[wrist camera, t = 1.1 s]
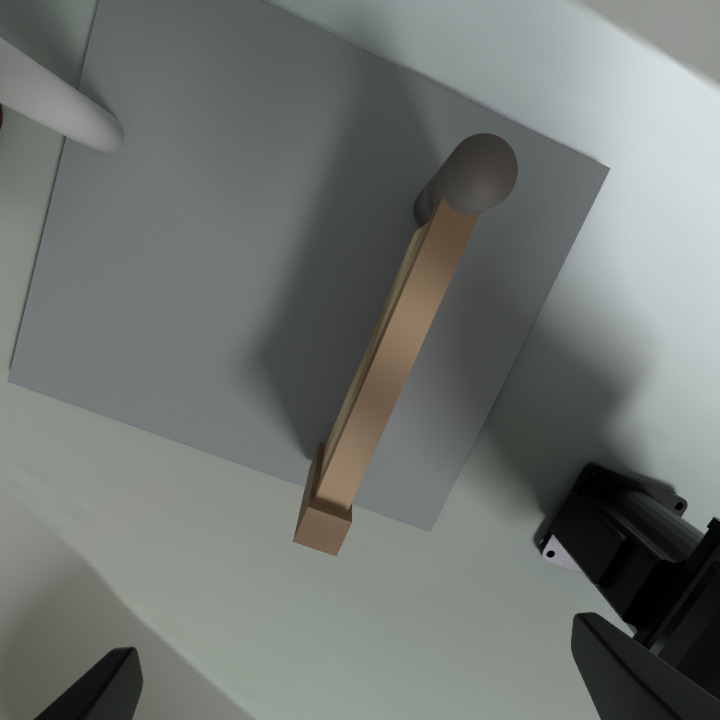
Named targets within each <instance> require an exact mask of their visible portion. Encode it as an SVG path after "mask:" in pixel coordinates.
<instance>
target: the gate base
mask: <svg viewBox="0 0 720 720" xmlns="http://www.w3.org/2000/svg"><path fill="white" fill-rule="evenodd" d="M0 103H1V104H3V105H5V106H7V107H9V108H11V109H13V110H15V111H17V112H19V113H21V114H23V115H25V116H27V117H29V118H31V119H33V120H35V121H37V122H39V123H41V124H43V125H45V126H47V127H49V128H51V129H53V130H55V131H56V132H58V133H60V134H62V135H64V136H66V139H65V143H64V148H63V152H62V156H61V160H60V164H59V169H58V173H57V177H56V181H55V185H54V189H53V194H52V198H51V202H50V206H49V210H48V215H47V219H46V223H45V227H44V231H43V235H42V240H41V244H40V248H39V252H38V256H37V261H36V265H35V269H34V273H33V277H32V281H31V286H30V290H29V294H28V298H27V302H26V307H25V311H24V315H23V319H22V323H21V327H20V332H19V336H18V340H17V344H16V348H15V353H14V357H13V361H12V365H11V369H10V373H9V378H8V382H10V383H13V384H16V385H19V386H22V387H24V388H27V389H30V390H33V391H36V392H38V393H41V394H44V395H47V396H50V397H53V398H55V399H58V400H61V401H64V402H67V403H69V404H72V405H75V406H78V407H81V408H83V409H86V410H89V411H92V412H95V413H98V414H100V415H103V416H106V417H109V418H112V419H114V420H117V421H120V422H123V423H126V424H128V425H131V426H134V427H137V428H140V429H143V430H145V431H148V432H151V433H154V434H157V435H159V436H162V437H165V438H168V439H171V440H173V441H176V442H179V443H182V444H185V445H188V446H190V447H193V448H196V449H199V450H202V451H204V452H207V453H210V454H213V455H216V456H218V457H221V458H224V459H227V460H230V461H233V462H235V463H238V464H241V465H244V466H247V467H249V468H252V469H255V470H258V471H261V472H263V473H266V474H269V475H272V476H275V477H278V478H280V479H283V480H286V481H289V482H292V483H294V484H297V485H300V486H303V487H305V486H306V481H307V477H308V472H309V468H310V465H311V463H312V461H313V458H314V456H315V453H316V451H317V448H318V446H319V444H320V442H322V443H324V444H327V441H328V439H329V437H330V434H331V432H332V429H333V427H334V425H335V422H336V420H337V418H338V415H339V413H340V410H341V408H342V406H343V403H344V401H345V398H346V396H347V394H348V391H349V389H350V386H351V384H352V382H353V379H354V377H355V374H356V372H357V370H358V367H359V365H360V362H361V360H362V358H363V355H364V353H365V350H366V348H367V346H368V343H369V341H370V338H371V336H372V334H373V331H374V329H375V326H376V324H377V322H378V319H379V317H380V314H381V312H382V310H383V307H384V305H385V302H386V300H387V298H388V295H389V293H390V290H391V288H392V286H393V283H394V281H395V278H396V276H397V274H398V271H399V269H400V267H401V264H402V262H403V259H404V257H405V255H406V252H407V250H408V247H409V245H410V243H411V240H412V238H413V235H414V233H415V232H416V231H417V230H418V229H420V227H419V225H418V224H417V222H416V220H415V217H414V203H415V200H416V198H417V197H418V195H419V194H420V192H421V191H422V190H423V189H424V187H425V186H426V185H427V184H428V182H429V181H430V180H431V179H432V177H433V176H434V175H435V173H436V172H437V171H438V170H439V168H440V167H441V166H442V165H443V163H444V162H445V161H446V160H447V158H448V157H449V156H450V154H451V153H452V152H453V151H454V149H455V148H456V147H457V146H458V145H459V144H460V143H461V142H462V141H463V140H465V139H466V138H468V137H470V136H472V135H475V134H479V133H490V134H494V135H497V136H499V137H501V138H502V139H504V140H505V141H506V142H507V143H508V144H509V145H510V146H511V148H512V149H513V151H514V153H515V156H516V159H517V164H518V174H517V179H516V183H515V185H514V188H513V190H512V191H511V193H510V194H509V196H508V197H507V198H506V199H505V200H504V201H503V202H501V203H500V204H498V205H497V206H495V207H493V208H491V209H489V210H487V211H485V212H483V213H481V214H480V215H479V217H478V220H477V222H476V224H475V226H474V229H473V231H472V233H471V235H470V238H469V240H468V242H467V244H466V247H465V249H464V251H463V253H462V256H461V258H460V260H459V262H458V265H457V267H456V269H455V271H454V274H453V276H452V278H451V280H450V283H449V285H448V287H447V289H446V292H445V294H444V296H443V298H442V301H441V303H440V305H439V307H438V310H437V312H436V314H435V316H434V319H433V321H432V323H431V325H430V328H429V330H428V332H427V334H426V337H425V339H424V341H423V343H422V346H421V348H420V350H419V352H418V355H417V357H416V359H415V361H414V364H413V366H412V368H411V370H410V373H409V375H408V377H407V379H406V382H405V384H404V386H403V388H402V391H401V393H400V395H399V397H398V400H397V402H396V404H395V406H394V409H393V411H392V413H391V415H390V418H389V420H388V422H387V424H386V427H385V429H384V431H383V433H382V436H381V438H380V440H379V442H378V445H377V447H376V449H375V451H374V453H373V456H372V458H371V460H370V462H369V465H368V467H367V469H366V471H365V474H364V476H363V478H362V480H361V483H360V485H359V487H358V489H357V492H356V494H355V496H354V498H353V501H352V504H353V505H356V506H359V507H362V508H365V509H367V510H370V511H373V512H376V513H379V514H382V515H384V516H387V517H390V518H393V519H396V520H398V521H401V522H404V523H407V524H410V525H412V526H415V527H418V528H421V529H424V530H427V531H429V532H430V531H431V529H432V527H433V525H434V523H435V521H436V519H437V517H438V515H439V513H440V511H441V509H442V507H443V505H444V503H445V501H446V499H447V497H448V495H449V493H450V491H451V489H452V487H453V485H454V483H455V481H456V479H457V477H458V475H459V473H460V471H461V469H462V467H463V465H464V463H465V461H466V459H467V457H468V455H469V453H470V451H471V449H472V447H473V445H474V443H475V441H476V439H477V437H478V435H479V433H480V431H481V429H482V426H483V424H484V422H485V420H486V418H487V416H488V414H489V412H490V410H491V408H492V406H493V404H494V402H495V400H496V398H497V396H498V394H499V392H500V390H501V388H502V386H503V384H504V382H505V380H506V378H507V376H508V374H509V372H510V370H511V368H512V366H513V364H514V362H515V360H516V358H517V356H518V354H519V352H520V350H521V348H522V346H523V344H524V342H525V340H526V338H527V336H528V334H529V332H530V330H531V328H532V326H533V324H534V322H535V320H536V318H537V316H538V314H539V312H540V310H541V307H542V305H543V303H544V301H545V299H546V297H547V295H548V293H549V291H550V289H551V287H552V285H553V283H554V281H555V279H556V277H557V275H558V273H559V271H560V269H561V267H562V265H563V263H564V261H565V259H566V257H567V255H568V253H569V251H570V249H571V247H572V245H573V243H574V241H575V239H576V237H577V235H578V233H579V231H580V229H581V227H582V225H583V223H584V221H585V219H586V217H587V215H588V213H589V211H590V209H591V207H592V205H593V203H594V201H595V199H596V197H597V195H598V193H599V191H600V188H601V186H602V184H603V182H604V180H605V178H606V176H607V174H608V172H609V170H610V168H609V167H607V166H605V165H603V164H601V163H598V162H596V161H594V160H592V159H590V158H588V157H586V156H584V155H582V154H580V153H578V152H576V151H574V150H571V149H569V148H567V147H565V146H563V145H561V144H559V143H557V142H555V141H553V140H551V139H549V138H547V137H544V136H542V135H540V134H538V133H536V132H534V131H532V130H530V129H528V128H526V127H524V126H522V125H519V124H517V123H515V122H513V121H511V120H509V119H507V118H505V117H503V116H501V115H499V114H497V113H495V112H492V111H490V110H488V109H486V108H484V107H482V106H480V105H478V104H476V103H474V102H472V101H470V100H468V99H465V98H463V97H461V96H459V95H457V94H455V93H453V92H451V91H449V90H447V89H445V88H443V87H440V86H438V85H436V84H434V83H432V82H430V81H428V80H426V79H424V78H422V77H420V76H418V75H416V74H413V73H411V72H409V71H407V70H405V69H403V68H401V67H399V66H397V65H395V64H393V63H391V62H389V61H386V60H384V59H382V58H380V57H378V56H376V55H374V54H372V53H370V52H368V51H366V50H364V49H361V48H359V47H357V46H355V45H353V44H351V43H349V42H347V41H345V40H343V39H341V38H339V37H337V36H334V35H332V34H330V33H328V32H326V31H324V30H322V29H320V28H318V27H316V26H314V25H312V24H310V23H307V22H305V21H303V20H301V19H299V18H297V17H295V16H293V15H291V14H289V13H287V12H285V11H283V10H280V9H278V8H276V7H274V6H272V5H270V4H268V3H266V2H264V1H262V0H99V1H98V6H97V10H96V14H95V18H94V22H93V26H92V31H91V35H90V39H89V43H88V47H87V52H86V56H85V60H84V64H83V68H82V72H81V77H80V81H79V85H78V89H77V90H76V89H74V88H73V87H72V86H70V85H69V84H67V83H66V82H64V81H63V80H61V79H60V78H59V77H57V76H56V75H54V74H53V73H51V72H50V71H49V70H47V69H46V68H44V67H43V66H41V65H40V64H38V63H37V62H36V61H34V60H33V59H31V58H30V57H28V56H27V55H25V54H24V53H23V52H21V51H20V50H18V49H17V48H15V47H14V46H13V45H11V44H10V43H8V42H7V41H5V40H4V39H2V38H1V37H0Z"/></svg>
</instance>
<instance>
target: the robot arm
mask: <svg viewBox="0 0 720 720" xmlns="http://www.w3.org/2000/svg"><path fill="white" fill-rule="evenodd" d="M595 470H596V473H595V474H593V475H592V472H593V471H595ZM676 503H677V504H676ZM675 504H676V505H675ZM686 508H687V502H686V500H684V499H683V498H681V497H680V496H678V495H676V494H674V493H671V492H669V491H666V490H663V489H661V488H658V487H656V486H653V485H651V484H648V483H646V482H643V481H641V480H638V479H635V478H633V477H630V476H628V475H625V474H623V473H620V472H618V471H615V470H613V469H610V468H607V467H605V466H602V465H600V464H597V463H589V464H588V465H586V466H585V468H584V469H583V471H582V473H581V475H580V476H579V478H578V480H577V482H576V484H575V485H574V487H573V489H572V491H571V492H570V494H569V496H568V498H567V500H566V501H565V503H564V505H563V507H562V509H561V510H560V512H559V514H558V516H557V517H556V519H555V521H554V523H553V525H552V526H551V528H550V530H549V532H548V533H547V535H546V537H545V539H544V541H543V542H542V544H541V546H540V548H539V552H540V554H541V555H542V557H543V558H544V559H545V560H546V561H548V562H551V563H554V564H557V565H560V566H562V567H565V568H568V569H571V570H574V571H576V572H579V573H582V574H585V575H586V577H587V578H588V579H589V580H590V582H591V583H593V584H594V585H595V587H596V588H597V589H598V590H599V592H600V593H601V594H602V595H603V597H604V598H605V599H606V600H607V602H608V603H609V604H610V605H611V607H612V608H613V609H614V610H615V612H616V613H617V614H618V616H619V617H620V618H621V619H622V621H624V622H625V623H626V624H627V626H628V627H629V628H630V629H631V631H632V632H633V633H634V634H635V635H634V636H633V637H632V638H631V637H629V636H628V635H627V634H625V633H624V632H622V631H621V630H620V629H618V628H617V627H615V626H614V625H613V624H611V623H610V622H608V621H607V620H606V619H604V618H603V617H601V616H600V615H598V614H596V613H593V612H587V613H577V614H575V616H574V618H573V627H572V637H571V650H572V654H573V657H574V660H575V662H576V664H577V667H578V669H579V671H580V673H581V676H582V678H583V680H584V682H585V685H586V687H587V689H588V692H589V694H590V696H591V698H592V701H593V703H594V705H595V707H596V710H597V712H598V714H599V716H600V719H601V720H720V519H718V518H716V517H713V519H712V520H711V522H710V523H709V524H708V526H707V527H708V528H709V530H708V531H707V532H706V534H703V533H702V532H701V531H699V530H698V529H696V528H695V527H694V526H692V525H691V524H689V523H688V522H687V521H685V520H684V519H682V518H681V517H682V515H683V513H684V512H685V510H686ZM550 550H551V551H550ZM548 551H550V552H549V553H547V552H548ZM142 686H143V677H142V671H141V666H140V661H139V656H138V652H137V649H136V648H135V647H120V648H115V649H113V650H111V651H110V652H108V653H107V654H106V655H105V656H104V657H103V658H102V659H101V660H99V662H97V663H96V664H95V665H94V666H93V667H92V668H91V669H89V670H88V671H87V672H86V673H85V674H84V675H83V676H82V677H80V678H79V679H78V680H77V681H76V682H75V683H74V684H73V685H71V686H70V687H69V688H68V689H67V690H66V691H65V692H64V693H63V694H61V695H60V696H59V697H58V698H57V699H56V700H55V701H54V702H52V703H51V704H50V705H49V706H48V707H47V708H46V709H45V710H43V711H42V712H41V713H40V714H39V715H38V716H37V717H36V718H34V720H132V718H133V716H134V713H135V710H136V706H137V704H138V701H139V697H140V694H141V691H142Z"/></svg>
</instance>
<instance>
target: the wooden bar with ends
mask: <svg viewBox="0 0 720 720" xmlns="http://www.w3.org/2000/svg"><path fill="white" fill-rule="evenodd" d="M517 174H518V164H517V159H516V156H515V153H514V151H513V149H512V148H511V146H510V145H509V144H508V143H507V142H506V141H505V140H504V139H502V138H501V137H499V136H497V135H494V134H490V133H479V134H475V135H472V136H470V137H468V138H466V139H465V140H463V141H462V142H461V143H460V144H459V145H458V146H457V147H456V148H455V149H454V151H453V152H452V153H451V154H450V156H449V157H448V158H447V160H446V161H445V162H444V163H443V165H442V166H441V167H440V168H439V170H438V171H437V172H436V173H435V175H434V176H433V177H432V179H431V180H430V181H429V182H428V184H427V185H426V186H425V187H424V189H423V190H422V191H421V192H420V194H419V195H418V197H417V198H416V200H415V203H414V217H415V220H416V222H417V224H418V225H419V227H420V229H418V230H417V231H416V232H415V233H414V235H413V238H412V240H411V243H410V245H409V247H408V250H407V252H406V255H405V257H404V259H403V262H402V264H401V267H400V269H399V271H398V274H397V276H396V278H395V281H394V283H393V286H392V288H391V290H390V293H389V295H388V298H387V300H386V302H385V305H384V307H383V310H382V312H381V314H380V317H379V319H378V322H377V324H376V326H375V329H374V331H373V334H372V336H371V338H370V341H369V343H368V346H367V348H366V350H365V353H364V355H363V358H362V360H361V362H360V365H359V367H358V370H357V372H356V374H355V377H354V379H353V382H352V384H351V386H350V389H349V391H348V394H347V396H346V398H345V401H344V403H343V406H342V408H341V410H340V413H339V415H338V418H337V420H336V422H335V425H334V427H333V429H332V432H331V434H330V437H329V439H328V441H327V444H324V443H322V442H320V444H319V446H318V448H317V451H316V453H315V456H314V458H313V461H312V463H311V465H310V468H309V472H308V477H307V481H306V486H305V490H304V495H303V499H302V504H301V508H300V513H299V518H298V522H297V527H296V531H295V536H294V540H293V542H296V543H299V544H302V545H305V546H308V547H311V548H313V549H316V550H319V551H322V552H325V553H328V554H331V555H334V556H337V554H338V552H339V550H340V547H341V545H342V543H343V541H344V539H345V536H346V534H347V532H348V530H349V527H350V525H351V523H352V501H353V498H354V496H355V494H356V492H357V489H358V487H359V485H360V483H361V480H362V478H363V476H364V474H365V471H366V469H367V467H368V465H369V462H370V460H371V458H372V456H373V453H374V451H375V449H376V447H377V445H378V442H379V440H380V438H381V436H382V433H383V431H384V429H385V427H386V424H387V422H388V420H389V418H390V415H391V413H392V411H393V409H394V406H395V404H396V402H397V400H398V397H399V395H400V393H401V391H402V388H403V386H404V384H405V382H406V379H407V377H408V375H409V373H410V370H411V368H412V366H413V364H414V361H415V359H416V357H417V355H418V352H419V350H420V348H421V346H422V343H423V341H424V339H425V337H426V334H427V332H428V330H429V328H430V325H431V323H432V321H433V319H434V316H435V314H436V312H437V310H438V307H439V305H440V303H441V301H442V298H443V296H444V294H445V292H446V289H447V287H448V285H449V283H450V280H451V278H452V276H453V274H454V271H455V269H456V267H457V265H458V262H459V260H460V258H461V256H462V253H463V251H464V249H465V247H466V244H467V242H468V240H469V238H470V235H471V233H472V231H473V229H474V226H475V224H476V222H477V220H478V217H479V215H480V214H481V213H483V212H485V211H487V210H489V209H491V208H493V207H495V206H497V205H498V204H500V203H501V202H503V201H504V200H505V199H506V198H507V197H508V196H509V194H510V193H511V191H512V190H513V188H514V185H515V183H516V179H517Z"/></svg>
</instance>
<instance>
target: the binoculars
mask: <svg viewBox="0 0 720 720" xmlns="http://www.w3.org/2000/svg"><path fill="white" fill-rule="evenodd" d="M1 126H2V111H1V106H0V128H1Z"/></svg>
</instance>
